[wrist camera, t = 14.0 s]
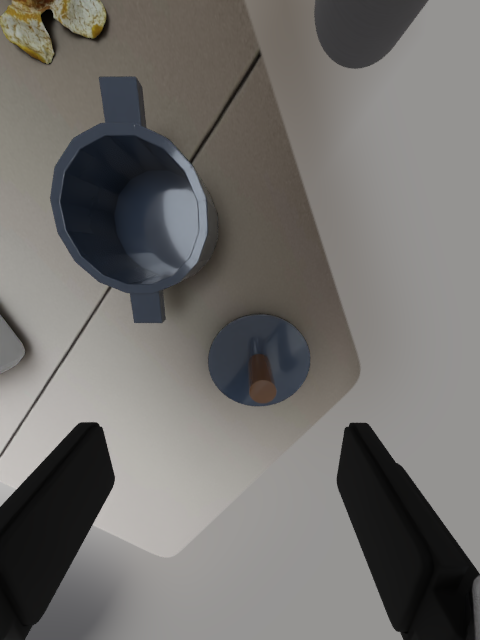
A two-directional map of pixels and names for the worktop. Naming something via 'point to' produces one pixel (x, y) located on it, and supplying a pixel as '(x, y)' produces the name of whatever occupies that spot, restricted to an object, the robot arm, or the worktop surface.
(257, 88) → the worktop surface
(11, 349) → the soap bottle
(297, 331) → the lid
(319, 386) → the worktop surface
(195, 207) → the pot
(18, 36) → the fruit
